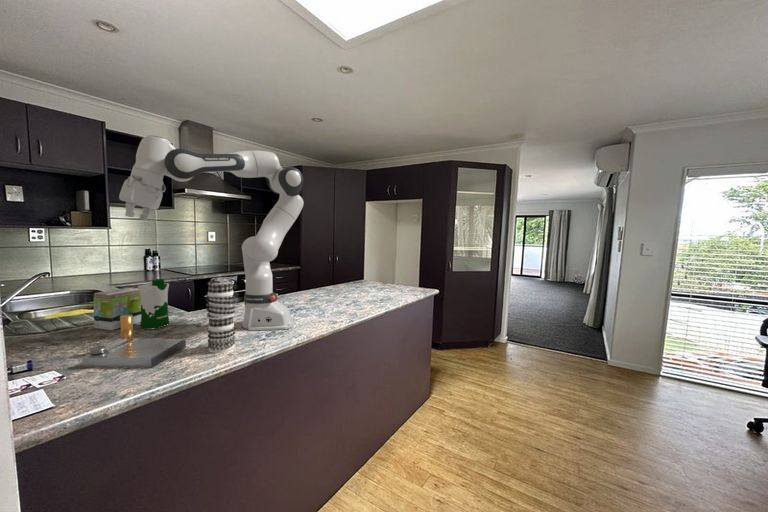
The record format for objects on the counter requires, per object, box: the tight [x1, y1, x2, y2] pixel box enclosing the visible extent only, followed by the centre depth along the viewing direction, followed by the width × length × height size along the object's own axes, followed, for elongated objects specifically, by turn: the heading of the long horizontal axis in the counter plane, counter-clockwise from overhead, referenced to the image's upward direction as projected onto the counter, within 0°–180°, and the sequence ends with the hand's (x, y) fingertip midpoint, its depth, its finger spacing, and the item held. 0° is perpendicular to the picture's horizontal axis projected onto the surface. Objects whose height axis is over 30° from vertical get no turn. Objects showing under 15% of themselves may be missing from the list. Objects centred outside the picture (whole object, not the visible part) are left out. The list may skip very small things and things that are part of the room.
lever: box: [89, 315, 134, 355], centre depth 98 cm, size 14×4×8 cm, turn 2°
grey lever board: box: [81, 338, 187, 369], centre depth 100 cm, size 21×16×3 cm
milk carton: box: [137, 278, 170, 330], centre depth 129 cm, size 9×9×20 cm
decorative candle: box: [205, 276, 236, 354], centre depth 108 cm, size 9×9×25 cm
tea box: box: [93, 287, 141, 331], centre depth 131 cm, size 15×10×15 cm, turn 168°
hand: (136, 218), depth 108 cm, fingers open, 8 cm apart
